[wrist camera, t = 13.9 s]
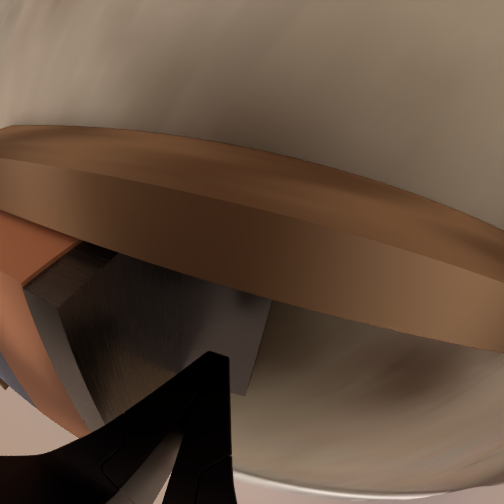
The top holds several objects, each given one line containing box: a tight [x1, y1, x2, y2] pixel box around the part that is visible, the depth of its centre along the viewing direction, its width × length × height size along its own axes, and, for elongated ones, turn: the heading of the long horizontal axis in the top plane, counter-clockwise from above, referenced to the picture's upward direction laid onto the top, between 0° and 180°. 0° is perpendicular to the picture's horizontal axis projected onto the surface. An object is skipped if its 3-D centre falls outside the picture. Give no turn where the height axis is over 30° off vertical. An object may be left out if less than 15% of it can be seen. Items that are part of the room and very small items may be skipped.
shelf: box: [0, 125, 504, 390], centre depth 8 cm, size 23×11×6 cm, turn 80°
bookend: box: [22, 241, 272, 432], centre depth 8 cm, size 4×8×6 cm, turn 170°
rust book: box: [0, 209, 91, 438], centre depth 9 cm, size 4×8×6 cm, turn 170°
